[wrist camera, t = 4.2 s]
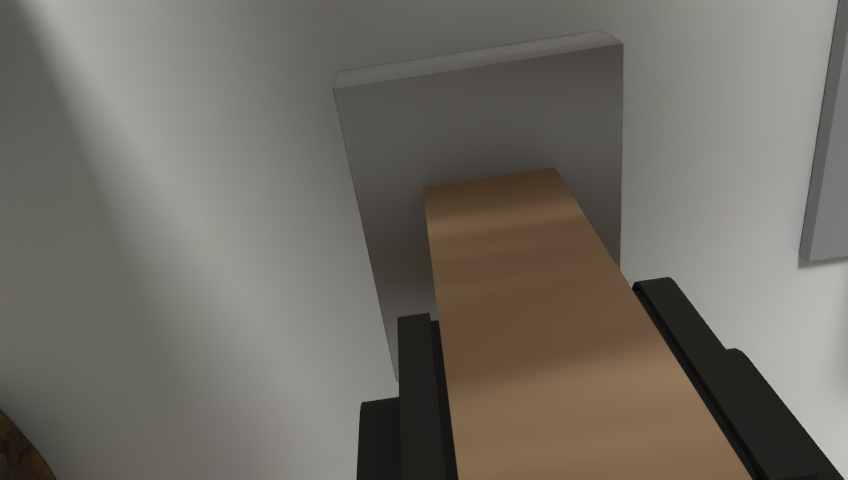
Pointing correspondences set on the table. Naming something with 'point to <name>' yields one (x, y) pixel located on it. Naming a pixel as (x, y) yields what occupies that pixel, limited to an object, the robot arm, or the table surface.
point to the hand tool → (20, 456)
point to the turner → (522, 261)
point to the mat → (831, 159)
